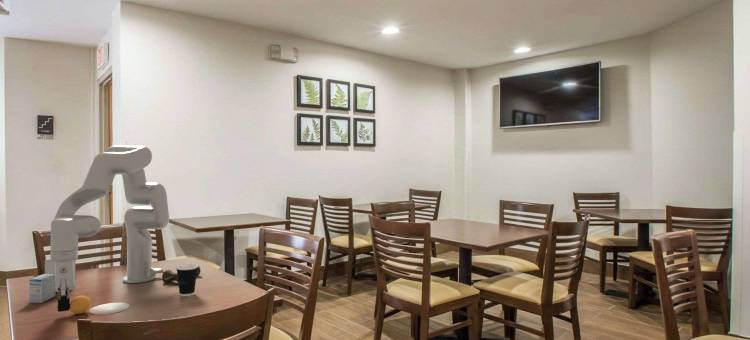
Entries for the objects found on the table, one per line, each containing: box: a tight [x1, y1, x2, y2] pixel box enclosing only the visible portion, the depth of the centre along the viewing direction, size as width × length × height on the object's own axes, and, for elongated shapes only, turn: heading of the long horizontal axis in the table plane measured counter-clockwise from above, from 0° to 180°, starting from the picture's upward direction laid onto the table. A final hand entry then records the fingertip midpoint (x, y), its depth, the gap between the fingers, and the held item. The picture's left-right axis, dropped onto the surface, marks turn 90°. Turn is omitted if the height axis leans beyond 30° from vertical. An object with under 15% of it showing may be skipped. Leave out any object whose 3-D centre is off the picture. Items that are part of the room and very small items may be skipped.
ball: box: [69, 294, 92, 315], centre depth 150 cm, size 6×6×6 cm
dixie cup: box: [175, 263, 199, 297], centre depth 172 cm, size 8×8×11 cm
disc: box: [88, 302, 130, 316], centre depth 156 cm, size 12×12×1 cm
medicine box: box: [28, 273, 56, 304], centre depth 164 cm, size 8×4×9 cm, turn 5°
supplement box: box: [44, 258, 76, 293], centre depth 177 cm, size 7×7×13 cm
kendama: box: [161, 265, 201, 284], centre depth 192 cm, size 6×10×20 cm
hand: (63, 310), depth 148 cm, fingers closed
